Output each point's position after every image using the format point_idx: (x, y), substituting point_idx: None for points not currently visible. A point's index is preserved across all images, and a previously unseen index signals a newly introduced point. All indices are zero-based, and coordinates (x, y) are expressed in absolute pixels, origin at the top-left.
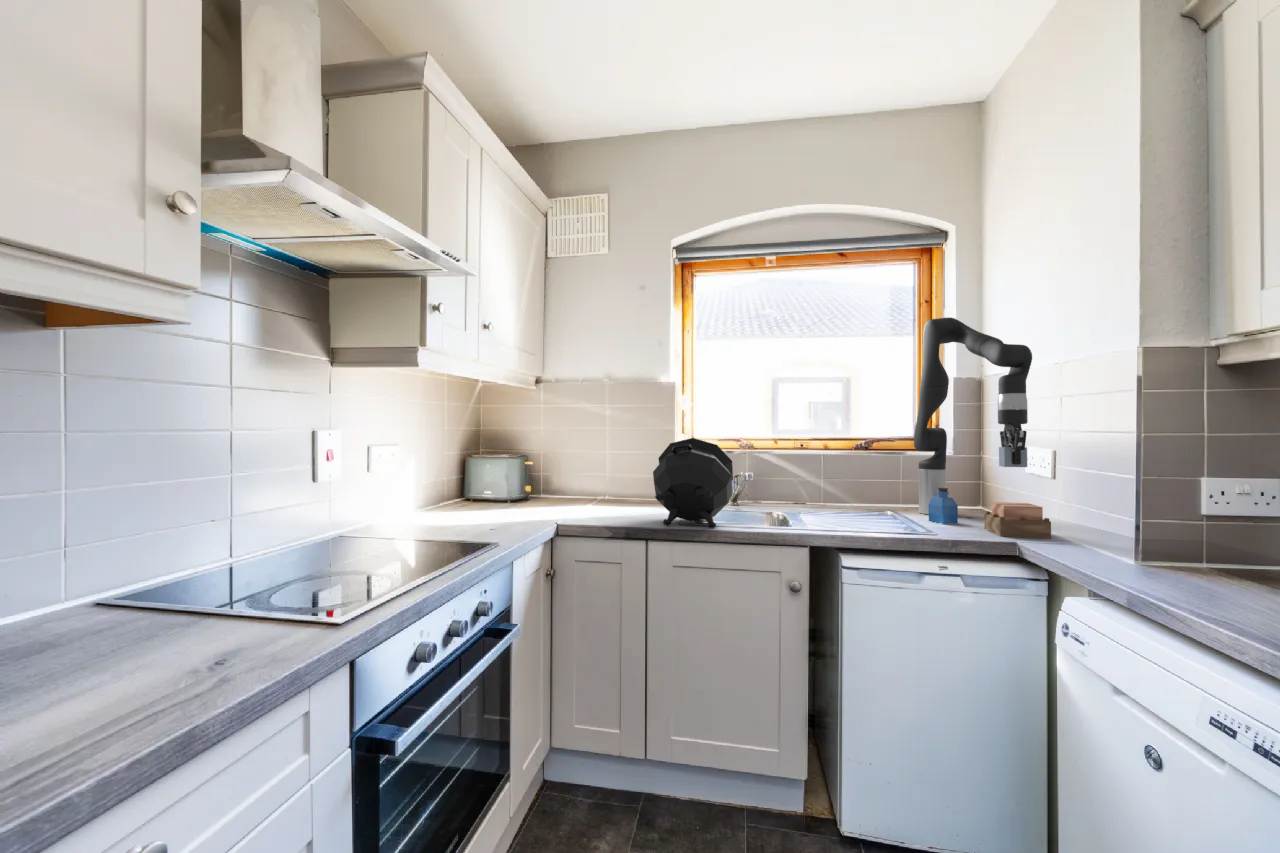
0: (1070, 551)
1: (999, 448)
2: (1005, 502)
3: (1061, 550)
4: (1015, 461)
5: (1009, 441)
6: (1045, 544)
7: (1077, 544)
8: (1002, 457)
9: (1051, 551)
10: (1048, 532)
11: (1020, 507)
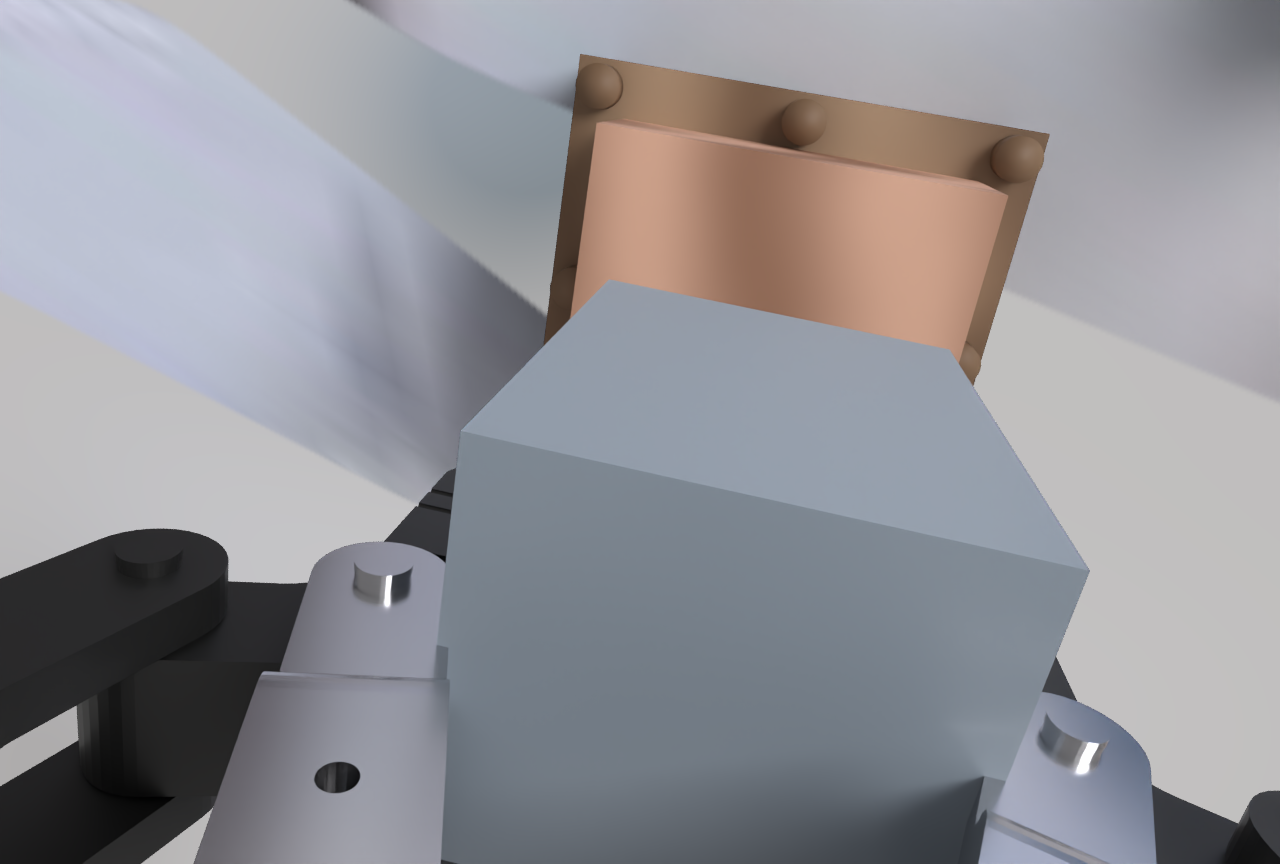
0: (110, 244)
1: (997, 527)
2: (949, 347)
3: (127, 204)
4: (453, 475)
5: (327, 738)
6: (325, 233)
7: (376, 460)
8: (714, 363)
9: (69, 107)
10: None
11: (574, 291)
